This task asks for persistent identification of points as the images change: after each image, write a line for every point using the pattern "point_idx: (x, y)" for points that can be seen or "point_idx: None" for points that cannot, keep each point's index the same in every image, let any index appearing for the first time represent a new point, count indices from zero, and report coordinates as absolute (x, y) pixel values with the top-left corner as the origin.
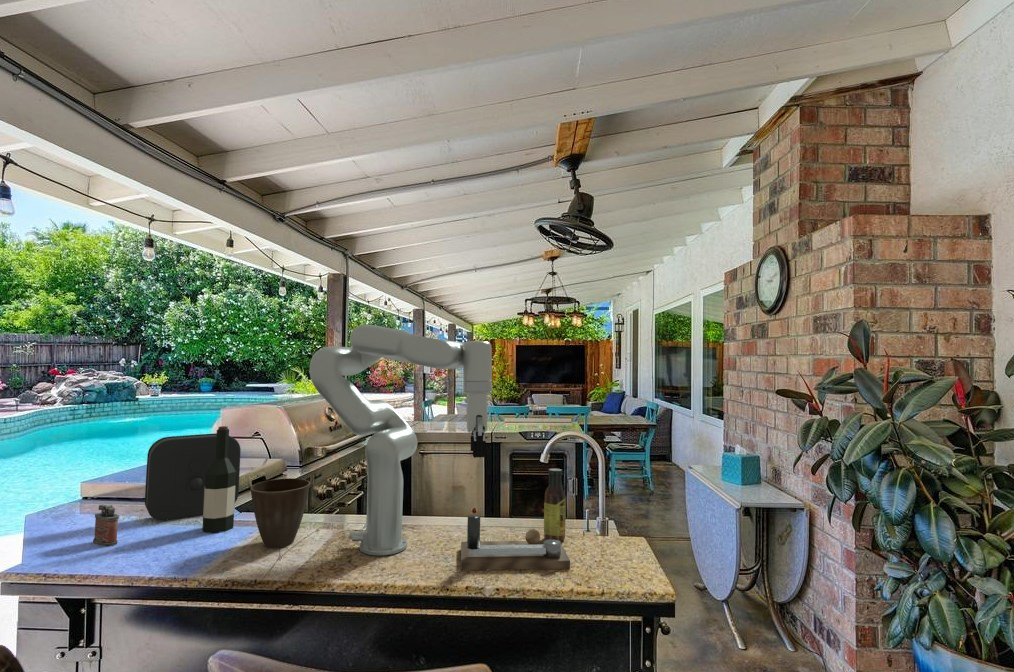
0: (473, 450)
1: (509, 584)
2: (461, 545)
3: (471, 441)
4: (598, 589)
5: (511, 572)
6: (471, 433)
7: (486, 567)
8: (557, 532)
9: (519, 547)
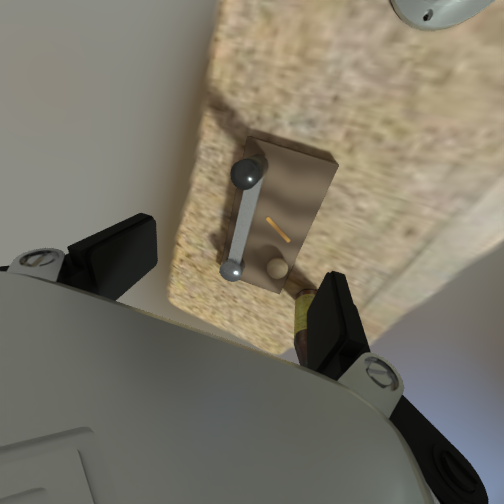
0: (117, 225)
1: (197, 189)
2: (319, 159)
3: (334, 308)
4: (176, 264)
5: (228, 205)
6: (396, 376)
7: None
8: (295, 304)
9: (237, 232)
